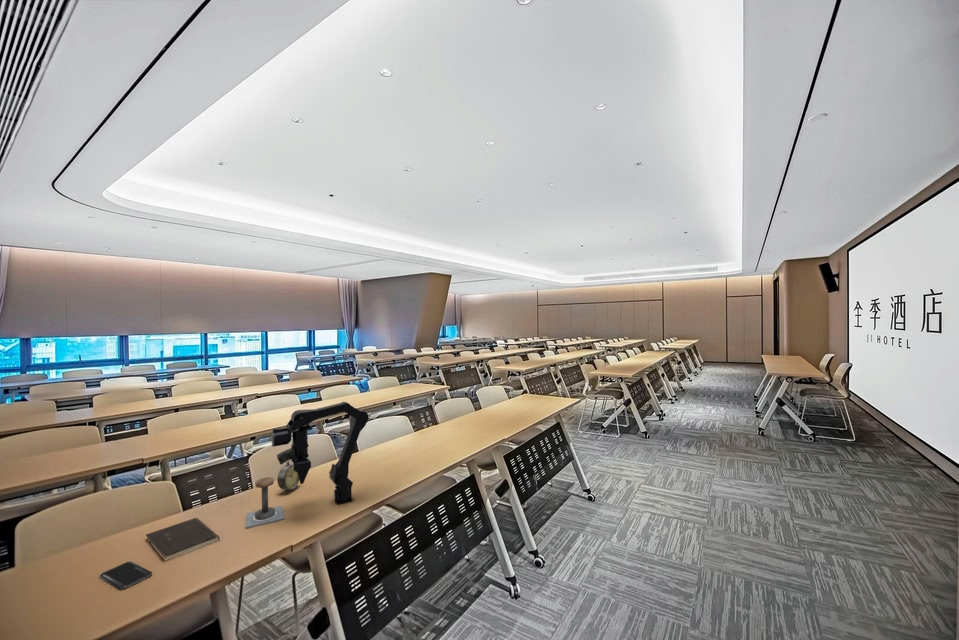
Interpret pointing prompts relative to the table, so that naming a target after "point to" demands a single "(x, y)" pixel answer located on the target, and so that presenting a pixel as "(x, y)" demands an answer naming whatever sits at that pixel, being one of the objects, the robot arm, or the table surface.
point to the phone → (126, 575)
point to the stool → (264, 499)
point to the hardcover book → (181, 538)
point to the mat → (277, 517)
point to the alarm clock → (287, 477)
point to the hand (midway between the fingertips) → (300, 479)
